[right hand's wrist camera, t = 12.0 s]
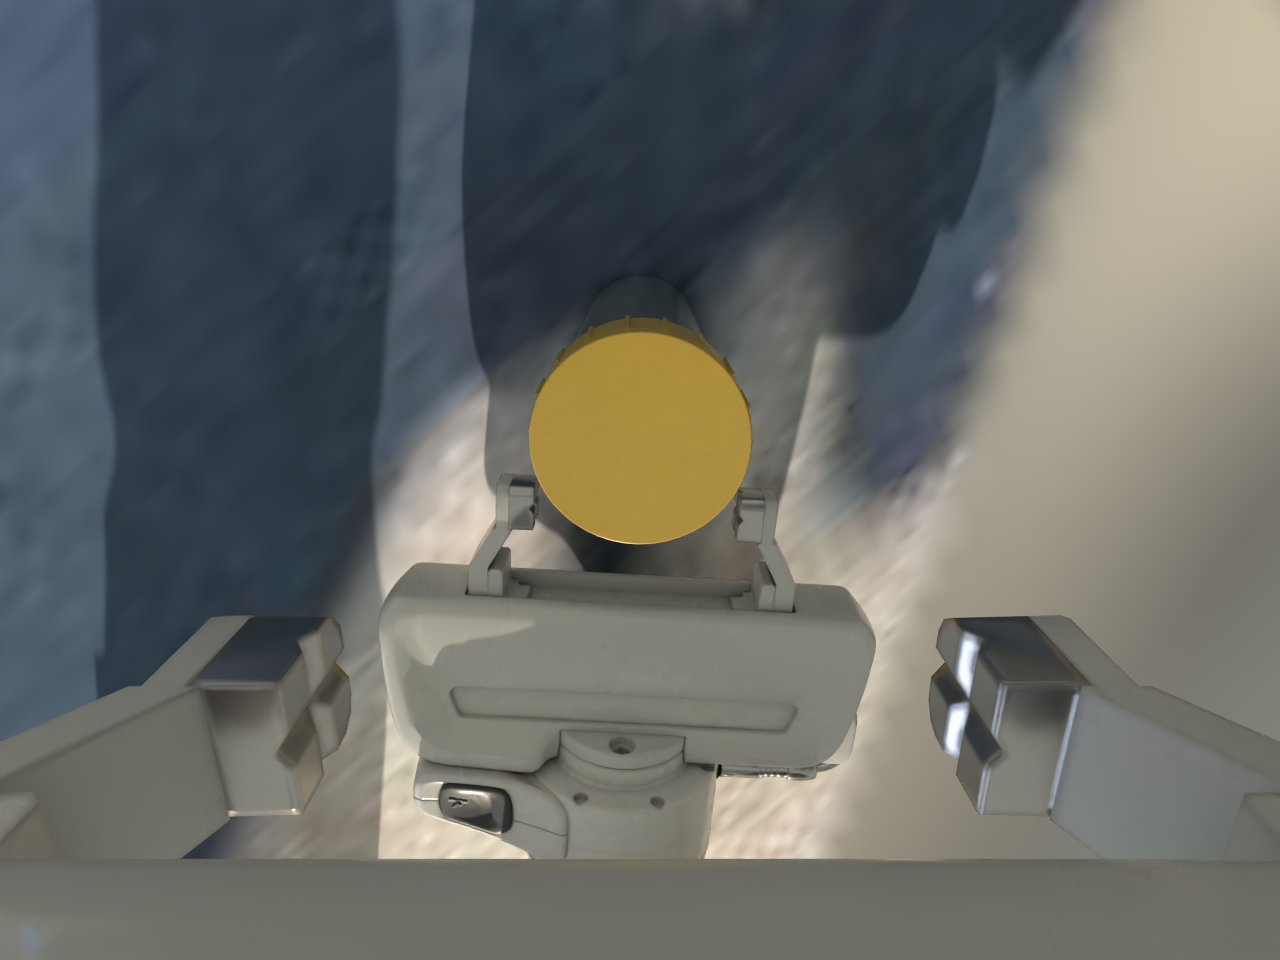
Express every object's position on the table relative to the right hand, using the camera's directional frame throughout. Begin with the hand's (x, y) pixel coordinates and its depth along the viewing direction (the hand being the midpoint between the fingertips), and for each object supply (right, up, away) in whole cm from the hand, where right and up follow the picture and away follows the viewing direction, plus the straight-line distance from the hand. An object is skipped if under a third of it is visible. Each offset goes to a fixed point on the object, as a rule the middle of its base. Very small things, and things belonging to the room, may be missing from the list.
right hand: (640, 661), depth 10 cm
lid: (0, +3, +9) cm, 10 cm away
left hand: (0, +2, +20) cm, 20 cm away
